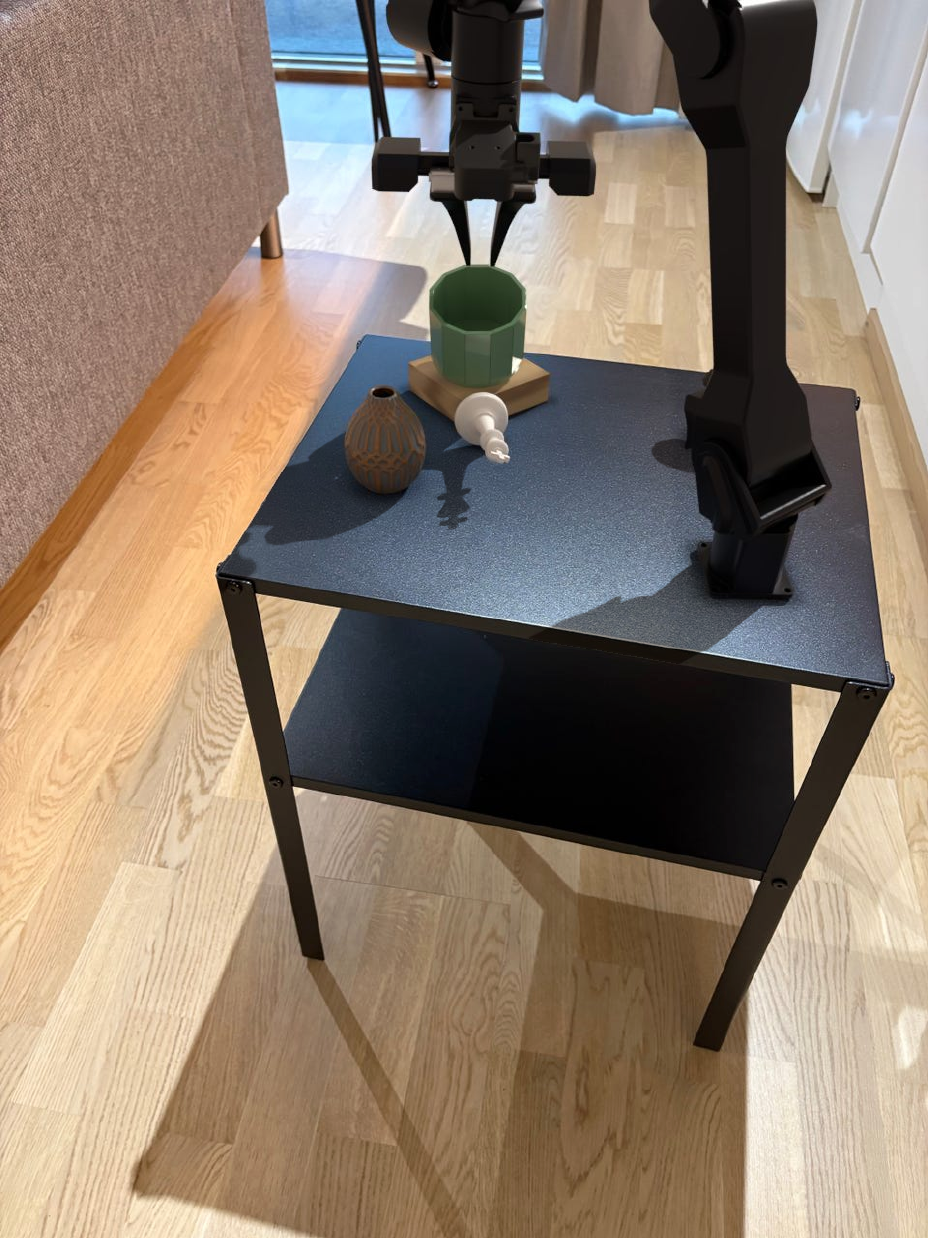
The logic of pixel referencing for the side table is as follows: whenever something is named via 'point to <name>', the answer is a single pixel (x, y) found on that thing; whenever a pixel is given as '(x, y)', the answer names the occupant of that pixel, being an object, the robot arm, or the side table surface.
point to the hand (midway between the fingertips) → (480, 264)
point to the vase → (385, 442)
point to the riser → (446, 396)
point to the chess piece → (484, 424)
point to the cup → (477, 325)
